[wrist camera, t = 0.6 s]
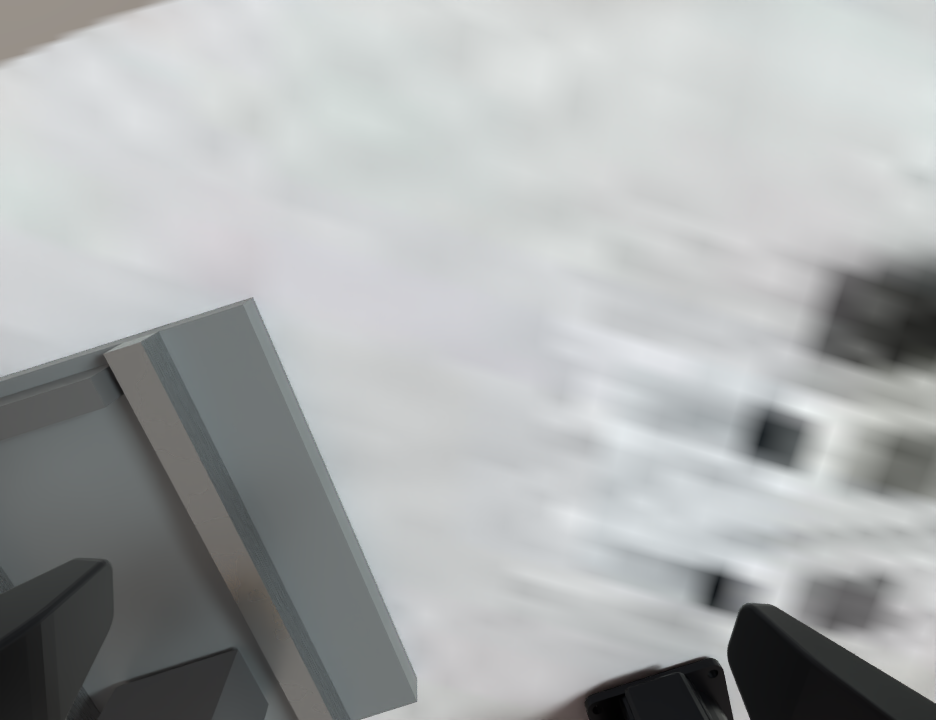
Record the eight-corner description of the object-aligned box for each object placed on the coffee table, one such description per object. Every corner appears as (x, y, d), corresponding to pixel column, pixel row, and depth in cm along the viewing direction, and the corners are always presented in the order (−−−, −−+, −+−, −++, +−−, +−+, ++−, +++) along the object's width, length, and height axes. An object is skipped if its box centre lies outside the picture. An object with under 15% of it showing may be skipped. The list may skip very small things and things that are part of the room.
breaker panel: (417, 678, 25) (417, 741, 23) (74, 785, 26) (32, 861, 23) (252, 297, 20) (225, 316, 17) (-186, 436, 20) (-286, 479, 17)
